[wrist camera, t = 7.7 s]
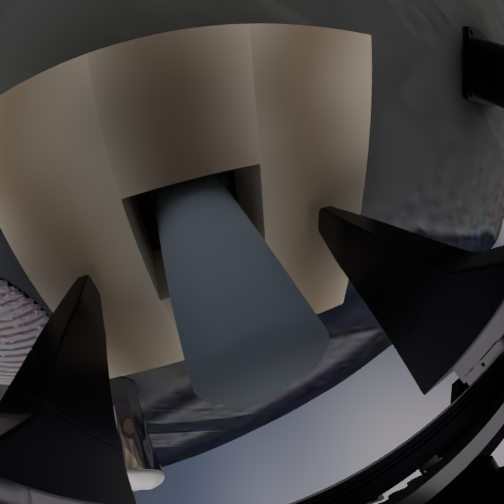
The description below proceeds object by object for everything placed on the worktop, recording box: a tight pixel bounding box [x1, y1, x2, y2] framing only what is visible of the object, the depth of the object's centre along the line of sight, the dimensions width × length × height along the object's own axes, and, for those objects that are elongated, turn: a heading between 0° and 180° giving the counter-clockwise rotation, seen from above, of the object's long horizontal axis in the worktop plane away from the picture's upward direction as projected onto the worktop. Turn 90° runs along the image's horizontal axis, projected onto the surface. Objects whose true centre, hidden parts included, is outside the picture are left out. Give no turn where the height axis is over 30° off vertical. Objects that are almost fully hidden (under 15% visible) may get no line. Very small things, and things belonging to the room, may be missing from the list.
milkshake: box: [109, 377, 165, 491], centre depth 15 cm, size 4×5×10 cm
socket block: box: [0, 24, 372, 379], centre depth 11 cm, size 14×14×4 cm
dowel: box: [154, 173, 329, 404], centre depth 9 cm, size 3×3×9 cm
